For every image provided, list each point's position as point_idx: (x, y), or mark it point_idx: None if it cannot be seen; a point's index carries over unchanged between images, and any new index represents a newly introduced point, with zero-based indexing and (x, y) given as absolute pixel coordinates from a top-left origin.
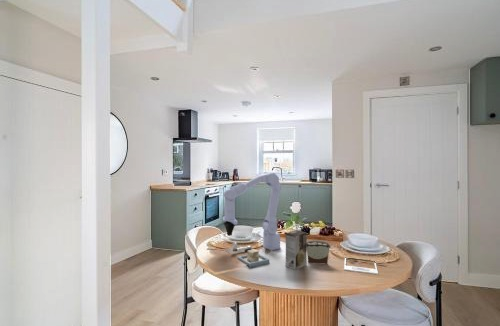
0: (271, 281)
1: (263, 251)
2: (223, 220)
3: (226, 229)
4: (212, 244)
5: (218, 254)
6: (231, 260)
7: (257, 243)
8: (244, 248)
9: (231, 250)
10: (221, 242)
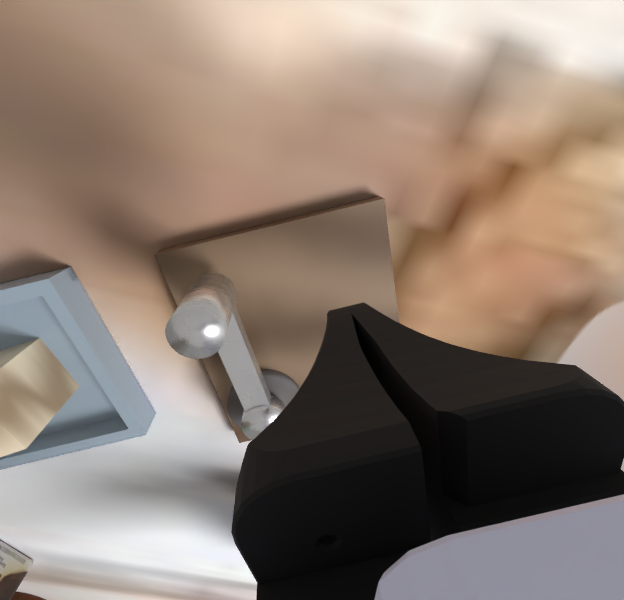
0: None
1: None
2: (499, 542)
3: (394, 336)
4: (620, 145)
5: (282, 128)
6: (78, 214)
7: None
8: (234, 381)
9: (309, 274)
10: (617, 248)
